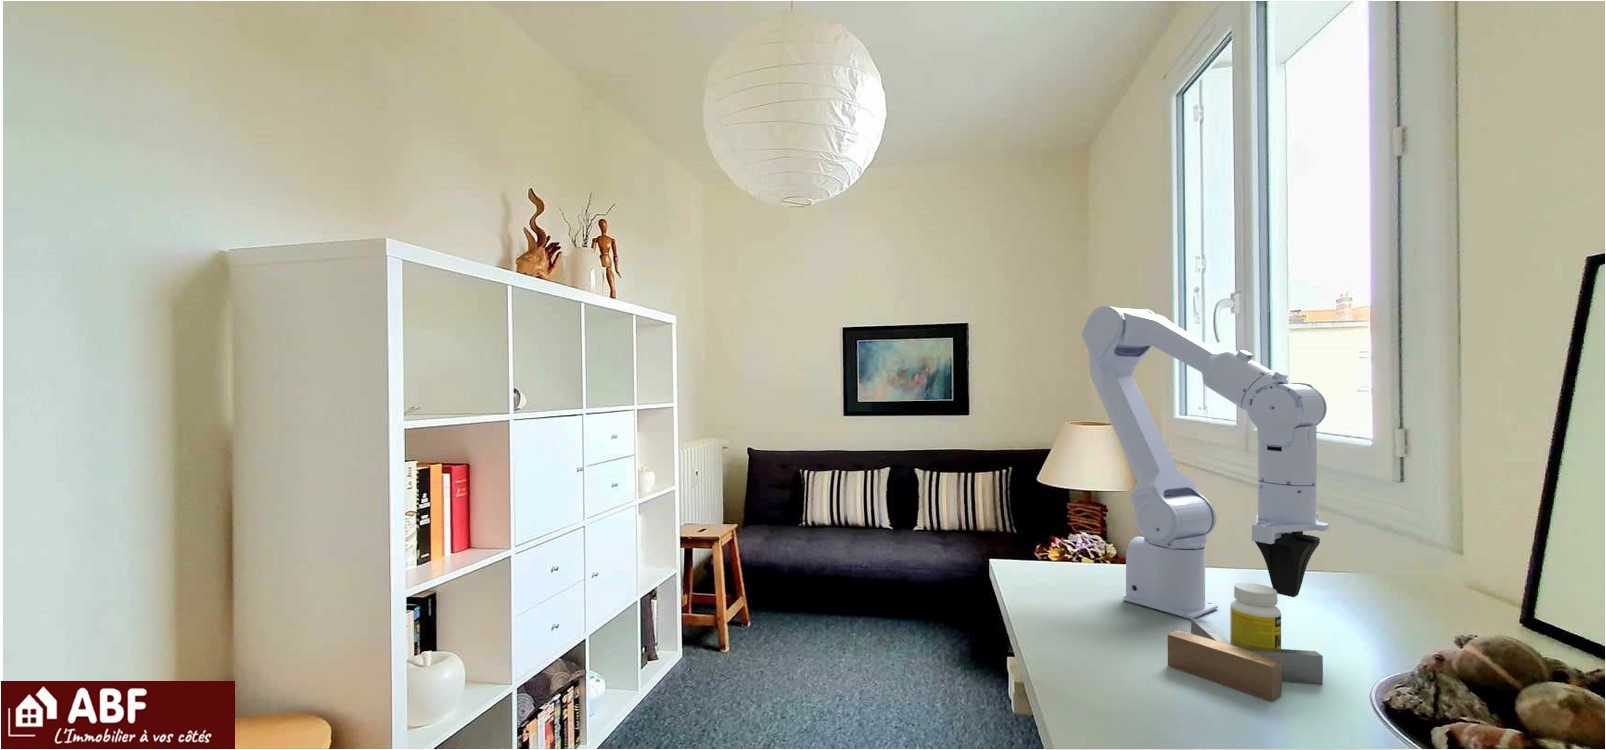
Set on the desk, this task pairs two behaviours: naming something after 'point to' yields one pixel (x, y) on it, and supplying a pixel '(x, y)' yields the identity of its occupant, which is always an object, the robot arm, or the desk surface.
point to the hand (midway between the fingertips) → (1285, 594)
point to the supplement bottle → (1255, 617)
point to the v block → (1241, 662)
